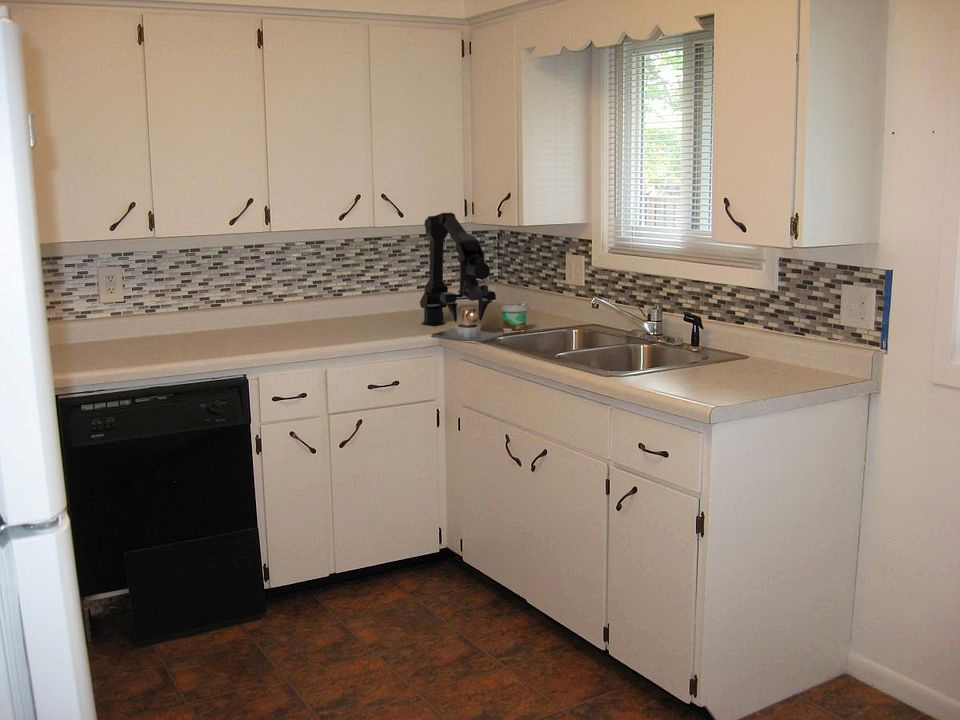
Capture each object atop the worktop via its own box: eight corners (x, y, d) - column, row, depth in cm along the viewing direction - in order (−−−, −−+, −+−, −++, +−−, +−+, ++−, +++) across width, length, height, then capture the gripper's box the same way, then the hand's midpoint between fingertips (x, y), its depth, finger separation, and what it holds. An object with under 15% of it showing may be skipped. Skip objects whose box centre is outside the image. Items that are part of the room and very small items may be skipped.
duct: (431, 336, 342) (431, 325, 342) (458, 330, 354) (458, 319, 353) (478, 344, 331) (478, 332, 330) (504, 337, 343) (504, 325, 342)
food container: (515, 335, 346) (515, 307, 344) (501, 333, 350) (501, 305, 348) (535, 330, 356) (535, 302, 354) (521, 328, 359) (521, 300, 357)
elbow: (467, 337, 336) (467, 311, 334) (458, 333, 344) (458, 307, 342) (481, 336, 338) (481, 310, 336) (471, 332, 345) (471, 306, 344)
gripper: (451, 280, 327) (451, 327, 330) (503, 277, 334) (502, 323, 338) (439, 276, 337) (439, 321, 340) (489, 273, 344) (489, 318, 348)
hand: (467, 321), depth 341 cm, fingers open, 9 cm apart
